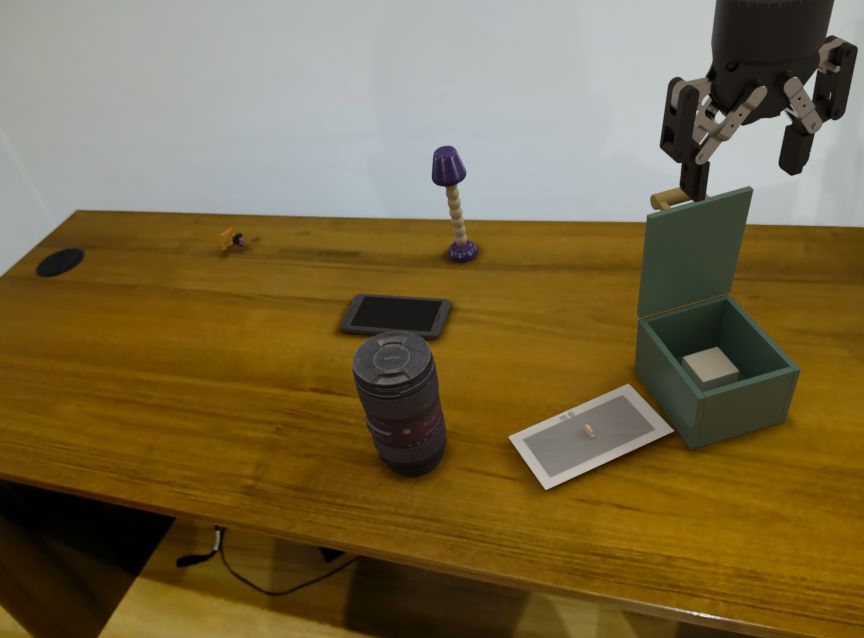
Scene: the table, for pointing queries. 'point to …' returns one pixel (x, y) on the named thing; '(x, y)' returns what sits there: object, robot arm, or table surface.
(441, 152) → the toy lamp
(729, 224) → the lid
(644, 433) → the touchpad
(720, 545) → the table surface
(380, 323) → the cell phone
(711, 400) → the chest
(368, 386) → the camera lens
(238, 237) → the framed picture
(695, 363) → the block
